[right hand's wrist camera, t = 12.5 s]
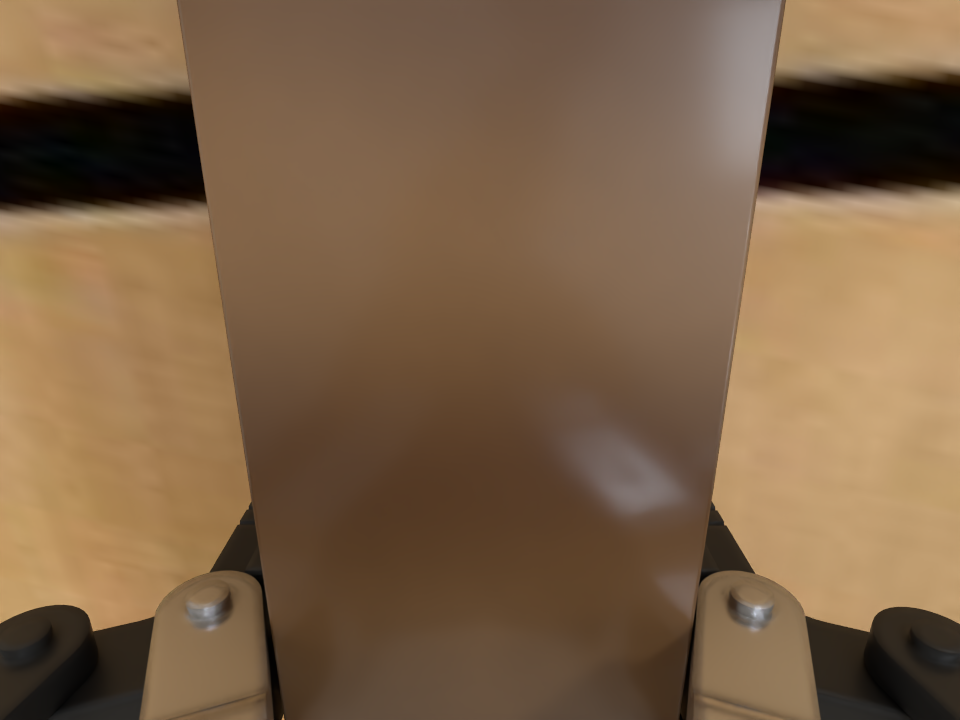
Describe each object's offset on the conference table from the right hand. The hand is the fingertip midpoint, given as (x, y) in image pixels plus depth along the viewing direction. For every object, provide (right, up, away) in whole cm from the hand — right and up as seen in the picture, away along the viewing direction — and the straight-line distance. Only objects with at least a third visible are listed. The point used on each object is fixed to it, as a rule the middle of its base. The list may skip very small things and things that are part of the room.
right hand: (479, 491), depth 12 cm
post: (0, +24, -6) cm, 25 cm away
